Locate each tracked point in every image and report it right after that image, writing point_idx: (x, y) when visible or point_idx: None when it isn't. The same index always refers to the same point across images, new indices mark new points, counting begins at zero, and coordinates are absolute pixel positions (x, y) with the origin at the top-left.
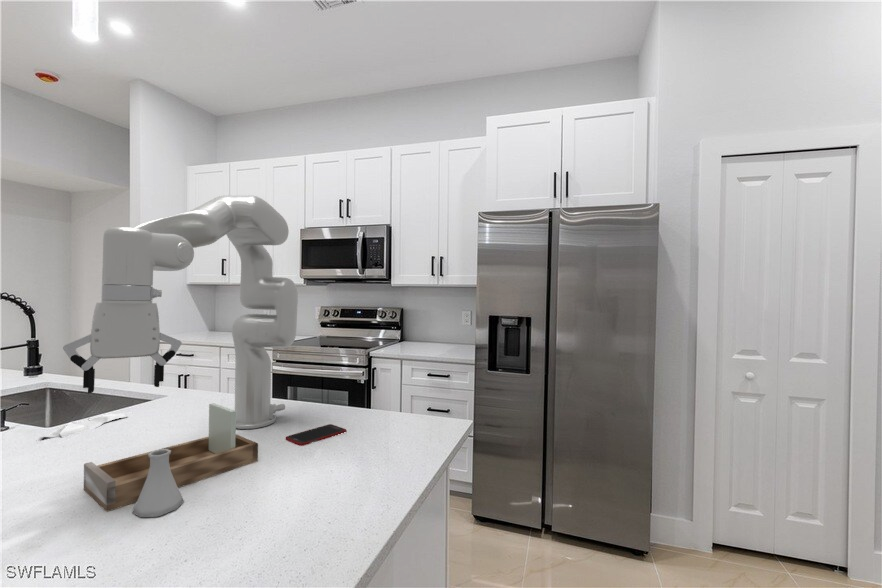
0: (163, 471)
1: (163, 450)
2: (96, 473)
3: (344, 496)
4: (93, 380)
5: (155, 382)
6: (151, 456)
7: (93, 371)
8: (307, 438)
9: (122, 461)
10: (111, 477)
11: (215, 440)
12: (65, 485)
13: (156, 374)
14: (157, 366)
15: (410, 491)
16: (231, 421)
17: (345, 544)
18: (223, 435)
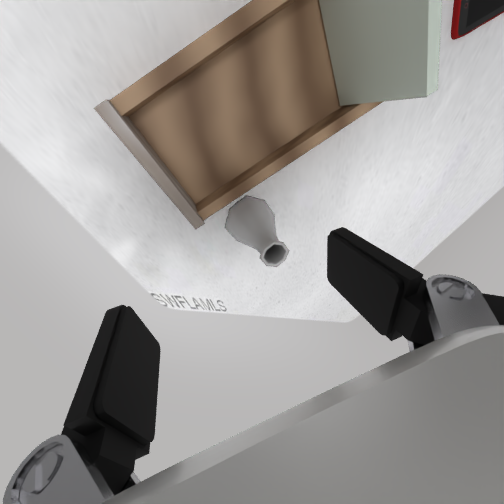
0: (270, 248)
1: (278, 244)
2: (158, 183)
3: (394, 241)
4: (157, 391)
5: (338, 288)
6: (265, 264)
7: (152, 440)
8: (482, 1)
9: (165, 84)
10: (193, 210)
11: (344, 22)
12: (45, 59)
13: (362, 312)
14: (392, 338)
15: (431, 245)
16: (403, 98)
17: None
18: (366, 64)
